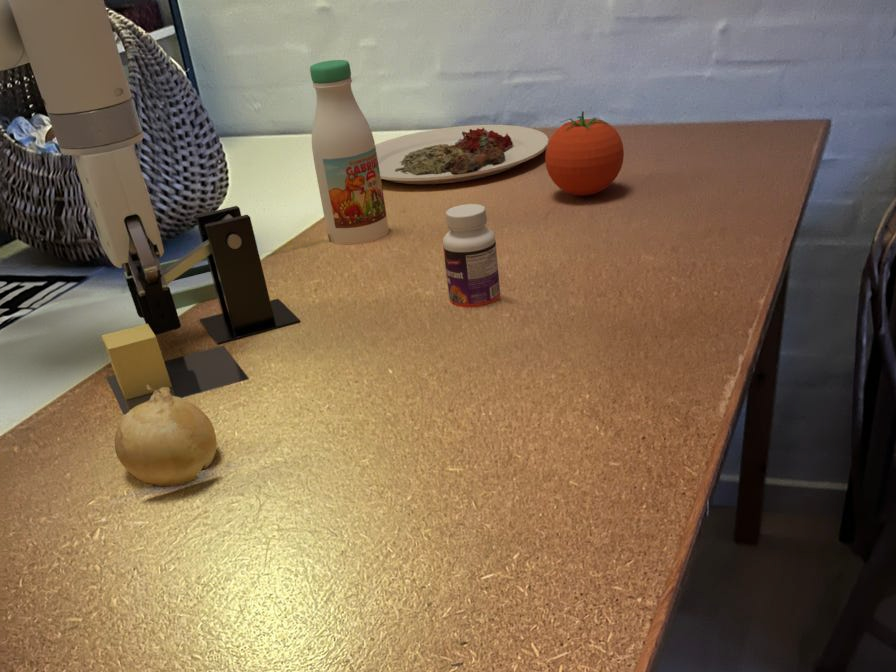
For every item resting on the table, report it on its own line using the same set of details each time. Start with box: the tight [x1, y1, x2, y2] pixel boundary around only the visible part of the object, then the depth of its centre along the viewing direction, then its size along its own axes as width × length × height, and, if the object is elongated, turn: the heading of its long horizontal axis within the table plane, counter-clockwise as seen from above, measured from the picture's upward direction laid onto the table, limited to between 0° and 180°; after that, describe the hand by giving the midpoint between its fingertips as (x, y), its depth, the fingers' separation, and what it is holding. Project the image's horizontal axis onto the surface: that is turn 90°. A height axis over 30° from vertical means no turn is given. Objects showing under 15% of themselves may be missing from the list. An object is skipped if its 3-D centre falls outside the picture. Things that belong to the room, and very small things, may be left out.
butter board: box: [105, 344, 250, 416], centre depth 95 cm, size 12×10×1 cm
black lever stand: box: [194, 205, 301, 346], centre depth 101 cm, size 9×8×12 cm
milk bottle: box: [309, 59, 389, 246], centre depth 118 cm, size 8×8×20 cm
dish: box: [123, 257, 218, 310], centre depth 115 cm, size 12×12×3 cm
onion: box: [114, 385, 218, 488], centre depth 79 cm, size 8×8×7 cm
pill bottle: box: [442, 203, 501, 308], centre depth 101 cm, size 5×5×10 cm
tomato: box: [544, 111, 625, 197], centre depth 127 cm, size 10×10×10 cm
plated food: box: [375, 124, 549, 185], centre depth 149 cm, size 30×30×3 cm
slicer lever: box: [134, 214, 233, 294], centre depth 98 cm, size 12×5×2 cm, turn 116°
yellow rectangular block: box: [100, 323, 172, 400], centre depth 92 cm, size 4×4×5 cm
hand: (159, 320), depth 100 cm, fingers closed on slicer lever, 5 cm apart
